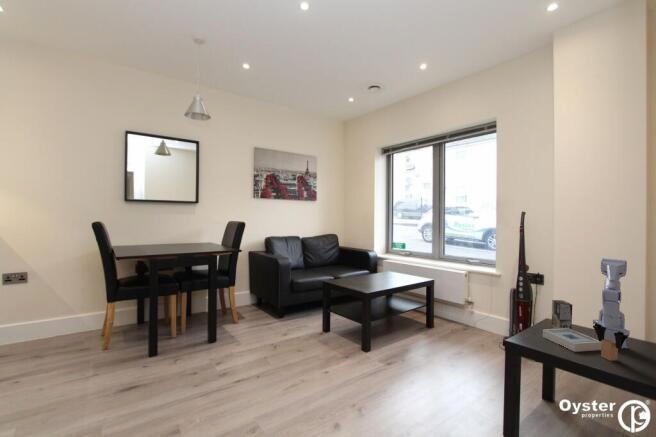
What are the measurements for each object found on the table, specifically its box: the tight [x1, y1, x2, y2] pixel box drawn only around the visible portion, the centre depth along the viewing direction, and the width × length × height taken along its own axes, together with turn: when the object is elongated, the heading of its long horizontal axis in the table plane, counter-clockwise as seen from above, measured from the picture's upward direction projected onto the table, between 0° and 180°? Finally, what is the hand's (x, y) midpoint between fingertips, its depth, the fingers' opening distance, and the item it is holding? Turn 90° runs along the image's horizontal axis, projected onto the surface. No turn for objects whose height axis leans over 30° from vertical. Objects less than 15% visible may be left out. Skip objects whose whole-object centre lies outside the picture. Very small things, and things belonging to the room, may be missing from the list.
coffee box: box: [551, 299, 573, 330], centre depth 178 cm, size 9×6×16 cm
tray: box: [542, 328, 602, 353], centre depth 160 cm, size 16×18×4 cm
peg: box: [600, 339, 619, 362], centre depth 143 cm, size 4×4×8 cm
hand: (609, 344), depth 143 cm, fingers open, 7 cm apart
